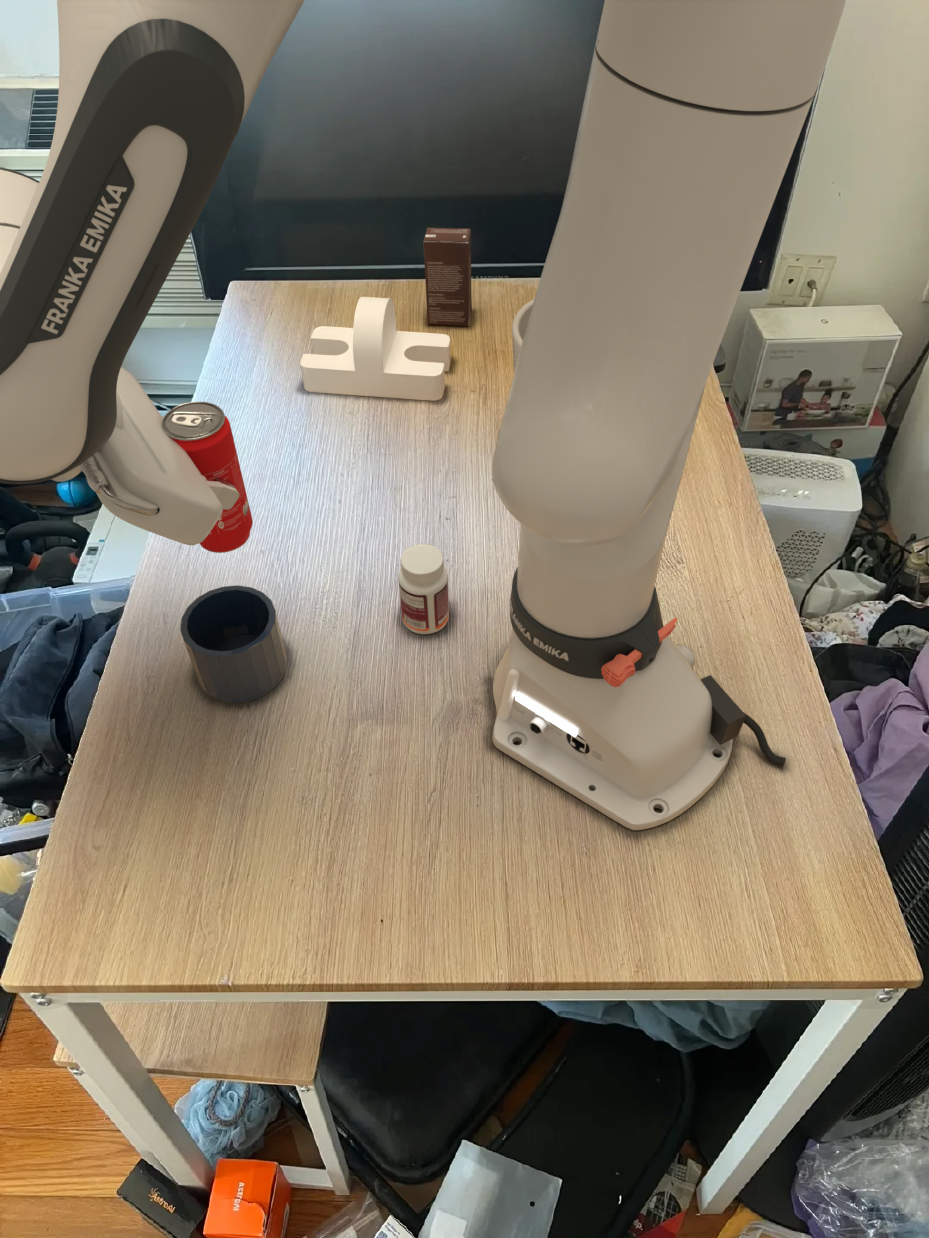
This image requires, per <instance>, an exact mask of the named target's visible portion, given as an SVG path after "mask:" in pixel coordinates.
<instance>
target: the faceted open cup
mask: <svg viewBox="0 0 929 1238" xmlns="http://www.w3.org/2000/svg"><path fill="white" fill-rule="evenodd" d="M179 629H180V633H181V637H182V639H183V642H184V645H185V648H186V650H187V654H188V656H189V659H190V661H191V665H192V667H193V670H194V673H195V675H196V678H197V681H198V683H199V685H200V687H201V689H202V690H203V692H205V693H206V695H208V696H209V697H211V698H213V699H215V700H217V701H220V702H223V703H227V704H243V703H249V702H251V701H252V702H253V701H255V700H258V699H260V698H262V697H264V696H266V695H268V694H270V692H272V691H273V690H274V689H275V688H276V687H277V686H278V685H279V684H280V683H281V681H282V679H283V678H284V676H285V673H286V671H287V665H288V660H287V651H286V648H285V644H284V640H283V636H282V631H281V628H280V623H279V618H278V615H277V611H276V608H275V606H274V602H273V600H272V599H270V597H268V596H267V594H265V592H263V591H261V590H258V589H256V588H254V587H251V586H246V585H245V586H244V585H239V584H238V585H226V586H220V587H217V588H214V589H210V590H208V591H207V592H205V593H203V594H201V595H199V596H197V598H195V599H194V600H193V601H192V602H191V603H190V604H189V605H188V606H187V607H186V609H185V611H184V613H183V615H182V617H181V619H180V628H179Z"/></svg>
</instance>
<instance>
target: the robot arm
mask: <svg viewBox="0 0 929 1238" xmlns="http://www.w3.org/2000/svg"><path fill="white" fill-rule="evenodd" d="M305 1H306V0H56V5H57V6H56V7H57V23H58V49H59V50H58V53H59V54H58V55H59V56H58V57H59V58H58V59H59V61H58V63H59V68H58V69H59V71H58V72H59V73H58V75H59V76H58V96H57V106H56V107H57V109H56V118H55V125H54V130H53V136H52V141H51V145H50V150H49V154H48V157H47V160H46V163H45V166H44V169H43V172H42V174H41V177H40V179H39V180H38V179H35V178H34V177H32V176H30V175H27V174H25V173H23V172H20V171H18V170H14V169H11V168H7V167H2V166H0V484H6V485H7V484H8V485H32V484H39V483H43V482H47V481H54V482H59V483H61V482H67V481H69V480H72V479H74V478H75V477H77V476H78V475H79V474H80V473H82V472H83V474H84V475H85V479H86V482H87V484H88V486H89V487H90V489H91V490H92V491H93V492H95V493H96V495H97V497H98V499H99V501H100V503H102V505H103V506H104V507H105V508H106V510H107V511H108V512H109V513H111V514H112V515H114V516H115V517H117V518H118V519H120V520H122V521H124V522H126V523H128V524H130V525H133V526H134V527H137V528H139V529H141V530H144V531H147V532H150V533H152V534H155V535H156V536H157V535H158V536H161V537H162V538H166V539H169V540H171V541H174V542H177V543H180V544H182V545H187V546H195V545H200V544H199V543H201V542H203V541H204V540H205V538H206V537H207V536H208V534H209V533H210V531H211V530H212V529H213V527H214V525H215V524H216V522H217V521H218V519H219V518H220V516H221V514H222V512H223V509H225V510H229V509H231V508H232V507H233V506H234V504H235V503H236V501H237V500H238V498H239V492H238V491H237V490H236V488H235V487H234V486H233V484H232V483H231V482H229V481H225V480H224V479H221V478H218V477H216V478H215V480H214V481H207V479H206V478H205V477H204V476H202V475H201V473H200V472H199V470H198V469H197V467H196V466H195V464H194V463H193V461H192V460H191V458H190V457H189V456H188V454H187V453H186V451H185V450H184V449H183V448H182V447H180V446H179V445H178V444H177V443H176V442H175V441H174V440H173V439H172V438H170V437H169V436H168V435H166V434H165V432H164V431H163V429H162V420H163V417H164V416H163V415H161V413H160V411H159V410H158V409H157V407H156V406H155V404H154V402H153V401H152V400H151V398H150V397H149V395H148V394H147V393H146V391H145V389H144V388H143V387H142V385H141V384H140V381H139V380H138V379H137V377H135V376H134V375H133V374H132V373H131V372H129V371H128V370H127V369H125V368H124V367H122V366H123V363H124V361H125V358H126V356H127V354H128V352H129V350H130V349H131V346H132V345H133V342H134V340H135V339H136V337H137V335H138V333H139V332H140V329H141V327H142V326H143V323H144V322H145V320H146V318H147V316H148V314H149V312H150V310H151V308H152V306H153V304H154V303H155V301H156V299H157V297H158V296H159V294H160V291H161V290H162V288H163V286H164V284H165V282H166V281H167V278H168V276H169V275H170V273H171V271H172V269H173V267H174V264H175V263H176V261H177V260H178V257H179V256H180V254H181V251H182V250H183V248H184V246H185V244H186V242H187V240H188V238H189V237H190V235H191V233H192V231H193V229H194V228H195V226H196V224H197V222H198V220H199V217H200V216H201V213H202V211H203V209H204V208H205V205H206V203H207V201H208V199H209V197H210V196H211V193H212V191H213V189H214V187H215V184H216V182H217V181H218V177H219V176H220V173H221V171H222V168H223V165H224V163H225V161H226V159H227V157H228V154H229V151H230V150H231V147H232V146H233V143H234V141H235V138H236V136H237V135H238V133H239V130H240V127H241V125H242V123H243V121H244V119H245V117H246V114H247V112H248V110H249V108H250V106H251V104H252V101H253V100H254V97H255V95H256V92H257V91H258V88H259V86H260V84H261V83H262V80H263V78H264V76H265V73H266V72H267V69H268V67H270V64H271V62H272V60H273V58H274V57H275V54H276V53H277V51H278V50H279V47H280V46H281V44H282V42H283V40H284V39H285V36H286V34H287V33H288V31H289V30H290V27H291V25H292V24H293V22H294V20H295V18H296V17H297V15H298V14H299V11H300V10H301V8H302V6H303V4H305V3H304V2H305ZM846 1H847V0H604V3H603V8H602V11H601V17H600V21H599V27H598V30H597V35H596V41H595V44H594V49H593V55H592V60H591V65H590V69H589V74H588V79H587V84H586V89H585V94H584V99H583V104H582V109H581V113H580V114H581V115H580V118H579V123H578V129H577V135H576V139H575V144H574V148H573V154H572V160H571V165H570V169H569V174H568V178H567V184H566V187H565V191H564V192H565V193H564V196H563V200H562V205H561V209H560V211H559V212H560V213H559V216H558V220H557V223H556V226H555V229H554V233H553V235H552V239H551V242H550V245H549V248H548V251H547V256H546V259H545V262H544V265H543V269H542V272H541V275H540V278H539V282H538V285H537V288H536V292H535V295H534V298H535V299H534V298H533V299H534V302H533V306H532V309H531V313H530V316H529V320H528V323H527V327H526V331H525V334H524V338H523V342H522V345H521V349H520V353H519V357H518V361H517V364H516V368H515V372H514V371H513V377H512V381H511V385H510V389H509V393H508V396H507V400H506V404H505V408H504V412H503V416H502V419H501V422H500V427H499V430H498V434H497V438H496V443H495V448H494V451H493V452H494V453H493V457H492V463H491V476H492V481H493V482H492V483H493V485H494V488H495V491H496V493H497V496H498V498H499V499H500V501H501V503H502V504H503V506H504V508H505V509H506V510H507V512H509V514H510V515H511V516H512V517H513V518H514V519H515V520H516V521H517V522H518V523H519V524H520V525H519V526H520V529H519V543H518V558H517V559H518V560H517V567H516V569H515V570H514V571H515V572H514V573H513V577H512V581H511V590H510V598H509V603H508V605H509V619H510V624H511V629H510V633H509V634H510V635H509V639H508V643H507V645H506V648H505V652H504V653H503V656H502V659H501V660H500V661H499V663H498V665H497V667H496V670H495V673H494V676H493V681H492V695H493V702H494V705H495V710H496V718H495V721H494V726H493V730H492V735H491V739H492V743H493V746H494V747H495V748H496V749H497V750H499V751H500V752H502V753H504V754H505V755H507V756H509V757H510V758H512V759H513V760H515V761H517V762H518V763H520V764H522V765H524V766H525V767H527V768H528V769H529V770H531V771H533V772H535V773H536V774H539V775H540V776H541V777H543V778H544V779H546V780H548V781H549V782H552V783H553V784H554V785H555V786H558V787H559V788H561V789H562V790H564V791H566V792H568V793H569V794H570V795H572V796H574V797H575V798H577V799H579V800H580V801H582V802H583V803H585V804H587V805H589V806H590V807H591V808H593V809H595V810H597V811H598V812H600V813H601V814H603V815H605V816H606V817H608V818H610V819H611V820H613V821H615V822H617V823H618V824H620V825H621V826H622V827H625V828H627V829H629V830H631V831H641V830H648V829H652V828H655V827H658V826H661V825H663V824H666V823H668V822H671V821H672V820H673V819H676V818H677V817H678V816H680V815H682V814H683V813H684V812H686V811H688V810H689V809H690V808H691V807H692V806H694V805H695V804H696V803H697V802H698V801H699V800H700V799H702V797H703V796H705V795H706V794H707V792H708V791H709V790H710V789H711V788H712V787H713V786H714V785H715V783H716V782H717V781H718V780H719V779H720V777H721V776H722V774H723V772H724V771H725V769H726V767H727V765H728V763H729V761H730V757H731V754H732V748H733V741H734V739H736V738H738V737H739V735H740V732H741V730H742V727H743V725H746V727H748V728H749V729H750V730H751V731H752V733H753V734H754V736H755V739H756V741H757V743H758V746H759V748H760V750H761V753H762V754H763V755H764V757H765V758H766V759H767V760H768V761H769V762H770V763H771V764H774V765H776V766H781V767H784V766H785V764H786V761H787V758H786V757H783V756H780V755H779V756H778V755H776V754H775V753H774V752H773V750H772V749H771V748H770V745H769V742H768V740H767V738H766V735H765V732H764V731H763V729H762V728H761V726H760V725H759V724H758V722H756V721H755V719H753V718H752V717H751V716H750V715H748V714H747V713H746V712H745V711H743V710H742V709H741V708H740V707H739V705H738V704H737V703H736V702H735V701H734V700H733V699H732V697H730V695H729V694H728V693H727V692H726V691H725V689H723V687H722V686H721V685H720V684H719V683H718V682H717V680H716V679H715V678H714V677H713V676H712V675H711V674H709V675H706V676H705V677H702V678H700V677H699V676H698V674H697V673H696V672H695V670H694V668H693V667H694V665H695V664H696V658H695V654H694V653H693V651H692V650H691V648H689V646H687V645H685V644H678V645H676V643H675V642H674V641H673V639H672V638H671V636H670V635H671V634H672V632H673V631H674V630H675V628H677V627H676V626H677V624H676V623H677V622H678V620H679V619H678V617H677V616H676V617H673V618H672V619H671V620H670V621H669V622H667V623H666V624H665V625H664V622H663V617H662V611H661V606H660V601H659V596H658V591H657V588H656V582H657V577H658V573H659V569H660V564H661V560H662V556H663V552H664V547H665V543H666V538H667V533H668V530H669V527H670V523H671V518H672V514H673V511H674V507H675V503H676V499H677V497H678V492H679V488H680V486H681V485H680V484H681V481H682V477H683V473H684V469H685V466H686V462H687V458H688V454H689V450H690V447H691V444H692V443H691V442H692V438H693V435H694V431H695V427H696V423H697V419H698V417H699V412H700V408H701V404H702V400H703V397H704V396H703V395H704V392H705V388H706V384H707V381H708V378H709V375H710V373H711V371H712V367H713V365H714V362H715V360H716V357H717V355H718V351H719V349H720V347H721V343H722V340H723V338H724V336H725V333H726V330H727V327H728V325H729V322H730V319H731V317H732V314H733V311H734V309H735V306H736V303H737V301H738V298H739V295H740V293H741V289H742V287H743V285H744V282H745V279H746V276H747V274H748V271H749V268H750V266H751V263H752V260H753V257H754V255H755V252H756V249H757V247H758V244H759V243H760V242H759V241H760V239H761V236H762V234H763V232H764V228H765V226H766V222H767V220H768V218H769V215H770V213H771V210H772V208H773V205H774V202H775V200H776V197H777V194H778V191H779V189H780V187H781V184H782V181H783V178H784V176H785V174H786V171H787V169H788V166H789V164H790V161H791V158H792V155H793V153H794V150H795V147H796V144H797V142H798V139H799V138H800V134H801V132H802V129H803V126H804V123H805V121H806V118H807V116H808V113H809V111H810V108H811V105H812V104H813V103H812V102H813V100H814V98H815V95H816V92H817V89H818V86H819V84H820V81H821V79H822V76H823V73H824V70H825V68H826V65H827V61H828V59H829V57H830V54H831V51H832V47H833V44H834V41H835V38H836V35H837V32H838V31H837V30H838V29H839V28H838V27H839V25H840V22H841V19H842V16H843V14H844V9H845V6H846ZM516 742H517V743H520V744H518V745H517V744H514V743H516ZM715 755H717V756H719V757H717V756H715ZM655 809H658V810H660V811H661V812H657V811H655Z"/></svg>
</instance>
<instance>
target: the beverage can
mask: <svg viewBox="0 0 929 1238" xmlns="http://www.w3.org/2000/svg"><path fill="white" fill-rule="evenodd" d="M162 429H163V431H164V432H165V434H166V435H168V436H169V437H170V438H172V439H173V440H174V441H175V442H176V443H177V444H178V445H179V446H180V447H182V448H183V449H184V450H185V451H186V453H187V454H188V456H189V457H190V458H191V460H192V461H193V463H194V464H195V466H196V467H197V469H198V470H199V472H200V473H201V475H202V476H204V477H205V478H206V479H207V481H214V480H215V478H216V477H218V478H221V479H224V480H225V481H229V482H231V483H232V484H233V486H234V487H235V488H236V490H237V491H238V492H239V498H238V500H237V501H236V503H235V504H234V506H233V507H232V508H231V509H229V510H225V509H223V512H222V514H221V516H220V518H219V519H218V521H217V522H216V524H215V525H214V527H213V529H212V530H211V531H210V533H209V534H208V536H207V537H206V538H205V540H204V541H203V542H201V543H199V544H198V545H199V546H201V548H203V549H204V550H206V551H208V552H210V553H215V554H224V553H230V552H233V551H235V550H238V549H239V548H241V547H242V546H244V545H245V544H246V543H247V542H248V540H249V538H250V536H251V531H252V527H253V517H252V512H251V508H250V503H249V499H248V494H247V491H246V487H245V482H244V478H243V473H242V468H241V465H240V461H239V457H238V451H237V447H236V444H235V440H234V435H233V431H232V427H231V422H230V419H229V418H228V417H227V416H226V415H225V412H224V411H223V409H222V408H221V407H220V406H218V405H216V404H215V403H212V402H208V401H200V400H199V401H197V400H196V401H189V402H185V403H181V404H179V405H177V406H175V407H173V408H171V409H170V410H168V411H167V412H166V413H165V414H164V416H163V420H162Z"/></svg>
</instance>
